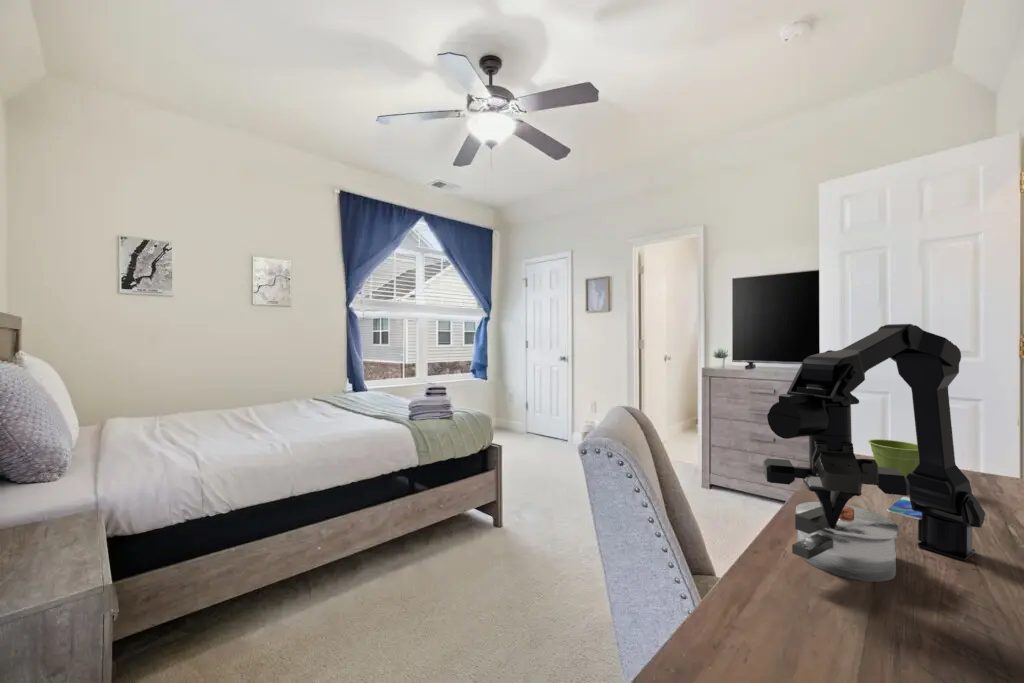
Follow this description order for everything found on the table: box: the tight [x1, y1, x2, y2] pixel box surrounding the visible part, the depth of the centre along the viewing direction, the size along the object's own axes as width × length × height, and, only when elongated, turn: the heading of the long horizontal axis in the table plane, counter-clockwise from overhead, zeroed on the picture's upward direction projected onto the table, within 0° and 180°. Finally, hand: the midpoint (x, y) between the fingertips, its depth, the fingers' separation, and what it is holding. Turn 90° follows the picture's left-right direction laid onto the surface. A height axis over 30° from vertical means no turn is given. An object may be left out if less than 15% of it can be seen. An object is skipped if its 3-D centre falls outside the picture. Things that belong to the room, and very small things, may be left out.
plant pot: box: [867, 438, 919, 478], centre depth 120 cm, size 12×12×11 cm
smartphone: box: [886, 495, 922, 520], centre depth 103 cm, size 7×1×15 cm
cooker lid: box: [794, 501, 900, 541], centre depth 78 cm, size 20×15×3 cm
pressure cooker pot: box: [791, 530, 897, 583], centre depth 78 cm, size 25×14×6 cm, turn 121°
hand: (831, 527), depth 73 cm, fingers closed
